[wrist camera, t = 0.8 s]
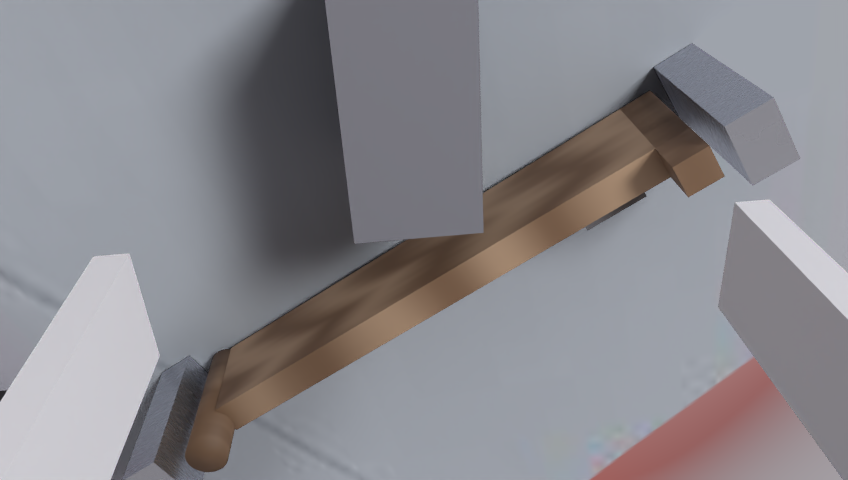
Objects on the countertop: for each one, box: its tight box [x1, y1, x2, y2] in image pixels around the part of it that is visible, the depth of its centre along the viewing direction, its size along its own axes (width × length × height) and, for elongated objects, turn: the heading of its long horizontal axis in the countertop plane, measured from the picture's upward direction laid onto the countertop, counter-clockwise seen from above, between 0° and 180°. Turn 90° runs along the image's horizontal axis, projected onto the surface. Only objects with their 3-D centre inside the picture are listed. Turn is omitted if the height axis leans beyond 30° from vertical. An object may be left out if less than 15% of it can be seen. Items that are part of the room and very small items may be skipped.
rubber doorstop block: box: [325, 0, 484, 244], centre depth 30 cm, size 5×10×9 cm, turn 4°
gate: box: [185, 91, 724, 472], centre depth 36 cm, size 27×3×7 cm, turn 123°
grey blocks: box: [122, 43, 800, 480], centre depth 36 cm, size 33×3×8 cm, turn 123°
